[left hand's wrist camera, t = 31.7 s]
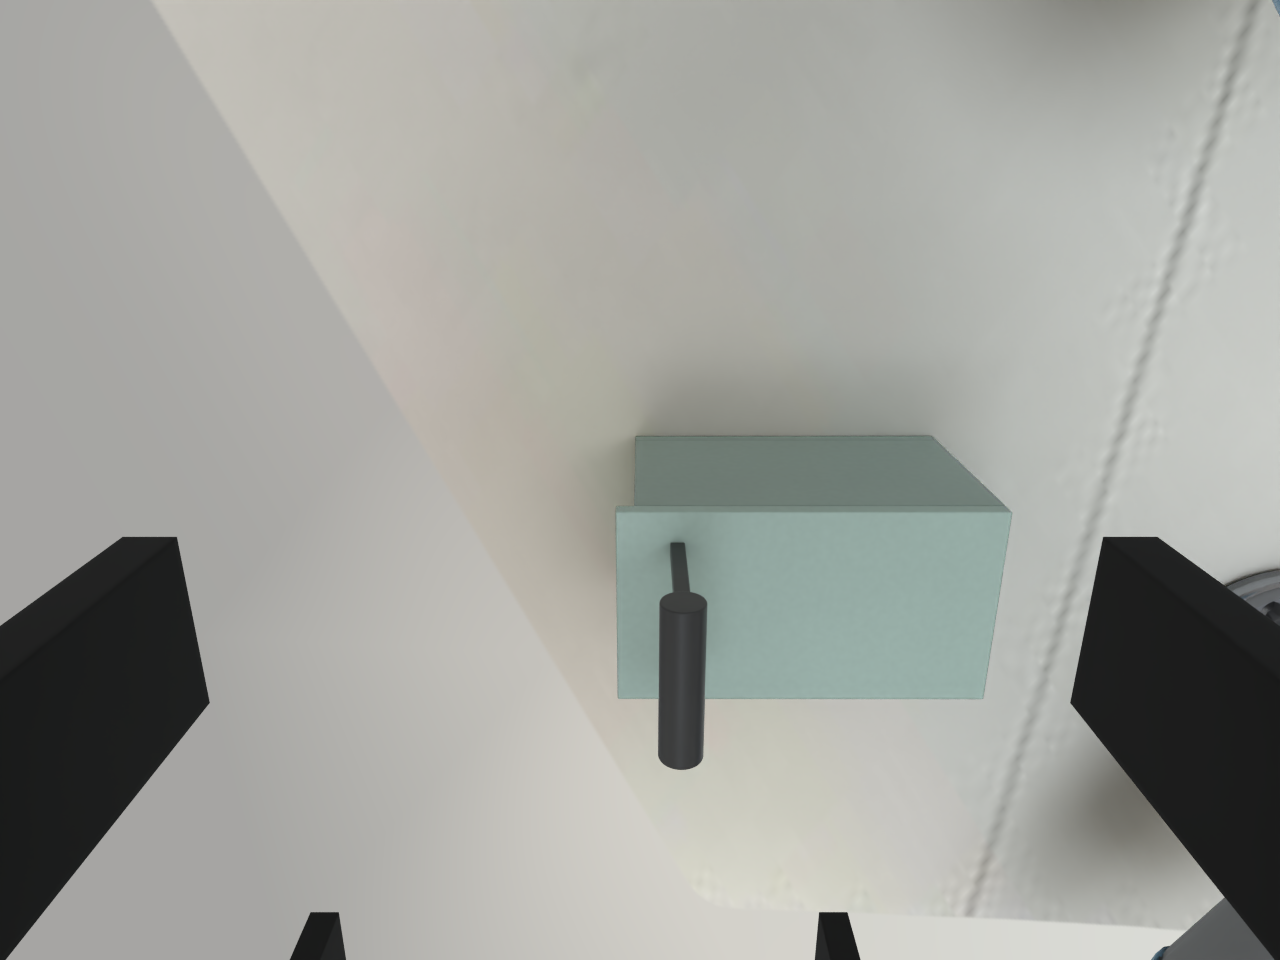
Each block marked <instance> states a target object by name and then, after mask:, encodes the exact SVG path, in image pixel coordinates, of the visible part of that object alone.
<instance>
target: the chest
mask: <svg viewBox="0 0 1280 960" xmlns="http://www.w3.org/2000/svg"><path fill="white" fill-rule="evenodd" d="M634 506H1005V505H1004V504H1003V503H1002V502H1001V501H1000V500H999V499H998V498H997V497H996V496H995V495H994V494H992V493H991V492H990V491H989V490H988V489H987V488H986V487H985V486H984V485H983V484H982V483H981V482H980V481H979V480H978V479H977V478H976V477H974V476H973V475H972V474H971V473H970V472H969V471H968V470H967V469H966V468H965V467H964V466H963V465H962V464H961V463H960V462H959V461H958V460H957V459H955V458H954V457H953V456H952V455H951V454H950V453H949V452H948V451H947V450H946V449H945V448H944V447H943V446H942V445H941V444H940V443H939V442H937V441H936V439H934V438H933V437H932V436H636V444H635V495H634Z"/></svg>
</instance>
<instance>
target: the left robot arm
mask: <svg viewBox="0 0 1280 960" xmlns="http://www.w3.org/2000/svg"><path fill="white" fill-rule="evenodd" d="M1272 1H1273V3H1274V5H1275V7H1276V9H1277V12H1278V14H1279V16H1280V0H1272ZM209 703H210V702H209V697H208V692H207V687H206V682H205V677H204V672H203V667H202V662H201V657H200V652H199V647H198V642H197V637H196V632H195V627H194V622H193V616H192V611H191V606H190V601H189V596H188V591H187V586H186V581H185V576H184V571H183V566H182V561H181V556H180V551H179V546H178V541H177V537H122V538H121V539H119V540H118V541H116V542H115V543H114V544H112V545H111V546H110V547H108V548H107V549H106V550H104V551H103V552H101V553H100V554H99V555H97V556H96V557H95V558H93V559H92V560H90V561H89V562H88V563H86V564H85V565H84V566H82V567H81V568H79V569H78V570H77V571H75V572H74V573H72V574H71V575H70V576H68V577H67V578H66V579H64V580H63V581H62V582H60V583H59V584H57V585H56V586H55V587H53V588H52V589H50V590H49V591H48V592H46V593H45V594H44V595H42V596H41V597H40V598H38V599H37V600H35V601H34V602H33V603H31V604H30V605H28V606H27V607H26V608H24V609H23V610H22V611H20V612H19V613H17V614H16V615H15V616H13V617H12V618H11V619H9V620H8V621H6V622H5V623H4V624H2V625H1V626H0V960H6V959H7V957H8V956H9V955H10V953H11V952H12V951H13V950H14V948H15V947H16V946H17V945H18V943H19V942H20V941H21V940H22V938H23V937H24V936H25V935H26V933H27V932H28V931H29V929H30V928H31V927H32V926H33V925H34V923H35V922H36V921H37V919H38V918H39V917H40V916H41V914H42V913H43V912H44V911H45V909H46V908H47V907H48V906H49V904H50V903H51V902H52V901H53V899H54V898H55V897H56V896H57V894H58V893H59V892H60V891H61V889H62V888H63V887H64V885H65V884H66V883H67V882H68V880H69V879H70V878H71V877H72V875H73V874H74V873H75V872H76V870H77V869H78V868H79V867H80V865H81V864H82V863H83V862H84V860H85V859H86V858H87V856H88V855H89V854H90V853H91V852H92V850H93V849H94V848H95V846H96V845H97V844H98V843H99V841H100V840H101V839H102V838H103V836H104V835H105V834H106V833H107V831H108V830H109V829H110V828H111V826H112V825H113V824H114V823H115V821H116V820H117V819H118V818H119V816H120V815H121V814H122V812H123V811H124V810H125V809H126V807H127V806H128V805H129V804H130V802H131V801H132V800H133V799H134V797H135V796H136V795H137V794H138V792H139V791H140V790H141V789H142V787H143V786H144V785H145V784H146V782H147V781H148V780H149V778H150V777H151V776H152V775H153V773H154V772H155V771H156V770H157V768H158V767H159V766H160V765H161V763H162V762H163V761H164V760H165V758H166V757H167V756H168V755H169V753H170V752H171V751H172V750H173V748H174V747H175V746H176V744H177V743H178V742H179V741H180V739H181V738H182V737H183V736H184V734H185V733H186V732H187V731H188V729H189V728H190V727H191V726H192V724H193V723H194V722H195V720H196V719H197V718H198V717H199V715H200V714H201V713H202V712H203V710H204V709H205V708H206V707H207V705H208V704H209ZM1070 703H1071V704H1072V705H1073V707H1074V708H1075V709H1076V711H1077V712H1078V713H1079V714H1080V716H1081V717H1082V718H1083V719H1084V721H1085V722H1086V723H1087V724H1088V726H1089V727H1090V728H1091V729H1092V731H1093V732H1094V733H1095V734H1096V736H1097V737H1098V738H1099V739H1100V741H1101V742H1102V743H1103V745H1104V746H1105V747H1106V748H1107V750H1108V751H1109V752H1110V753H1111V755H1112V756H1113V757H1114V758H1115V760H1116V761H1117V762H1118V763H1119V765H1120V766H1121V767H1122V768H1123V770H1124V771H1125V772H1126V773H1127V775H1128V776H1129V777H1130V778H1131V780H1132V781H1133V782H1134V784H1135V785H1136V786H1137V787H1138V789H1139V790H1140V791H1141V792H1142V794H1143V795H1144V796H1145V797H1146V799H1147V800H1148V801H1149V802H1150V804H1151V805H1152V806H1153V807H1154V809H1155V810H1156V811H1157V812H1158V814H1159V815H1160V816H1161V818H1162V819H1163V820H1164V821H1165V823H1166V824H1167V825H1168V826H1169V828H1170V829H1171V830H1172V831H1173V833H1174V834H1175V835H1176V836H1177V838H1178V839H1179V840H1180V841H1181V843H1182V844H1183V845H1184V846H1185V848H1186V849H1187V850H1188V852H1189V853H1190V854H1191V855H1192V857H1193V858H1194V859H1195V860H1196V862H1197V863H1198V864H1199V865H1200V867H1201V868H1202V869H1203V870H1204V872H1205V873H1206V874H1207V875H1208V877H1209V878H1210V879H1211V880H1212V882H1213V883H1214V884H1215V885H1216V887H1217V888H1218V889H1219V891H1220V892H1221V893H1222V894H1223V896H1224V897H1225V898H1226V899H1227V901H1228V902H1229V903H1230V904H1231V906H1232V907H1233V908H1234V909H1235V911H1236V912H1237V913H1238V914H1239V916H1240V917H1241V918H1242V919H1243V921H1244V922H1245V923H1246V925H1247V926H1248V927H1249V928H1250V930H1251V931H1252V932H1253V933H1254V935H1255V936H1256V937H1257V938H1258V940H1259V941H1260V942H1261V943H1262V945H1263V946H1264V947H1265V948H1266V950H1267V951H1268V952H1269V953H1270V955H1271V956H1272V957H1273V959H1274V960H1280V626H1279V625H1278V624H1276V623H1275V622H1274V621H1272V620H1271V619H1269V618H1268V617H1267V616H1265V615H1264V614H1263V613H1261V612H1260V611H1258V610H1257V609H1256V608H1254V607H1253V606H1252V605H1250V604H1249V603H1247V602H1246V601H1245V600H1243V599H1242V598H1241V597H1239V596H1238V595H1236V594H1235V593H1234V592H1232V591H1231V590H1230V589H1228V588H1227V587H1225V586H1224V585H1223V584H1221V583H1220V582H1219V581H1217V580H1216V579H1214V578H1213V577H1212V576H1210V575H1209V574H1208V573H1206V572H1205V571H1203V570H1202V569H1201V568H1199V567H1198V566H1197V565H1195V564H1194V563H1192V562H1191V561H1190V560H1188V559H1187V558H1186V557H1184V556H1183V555H1181V554H1180V553H1179V552H1177V551H1176V550H1175V549H1173V548H1172V547H1170V546H1169V545H1168V544H1166V543H1165V542H1164V541H1162V540H1161V539H1159V538H1158V537H1103V541H1102V546H1101V551H1100V556H1099V561H1098V566H1097V571H1096V576H1095V581H1094V586H1093V591H1092V596H1091V601H1090V606H1089V611H1088V616H1087V621H1086V626H1085V632H1084V637H1083V642H1082V647H1081V652H1080V657H1079V662H1078V667H1077V672H1076V677H1075V682H1074V687H1073V692H1072V697H1071V702H1070Z"/></svg>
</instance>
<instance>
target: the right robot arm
mask: <svg viewBox="0 0 1280 960" xmlns="http://www.w3.org/2000/svg"><path fill="white" fill-rule="evenodd" d="M1227 588H1228V589H1230V590H1231V591H1232V592H1234V593H1235V594H1236V595H1238V596H1239V597H1241V598H1242V599H1243V600H1245V601H1246V602H1247V603H1249V604H1250V605H1252V606H1253V607H1254V608H1256V609H1257V610H1258V611H1260V612H1261V613H1263V614H1264V615H1265V616H1267V617H1268V618H1269V619H1271V620H1272V621H1274V622H1275V623H1276V624H1278V625H1279V626H1280V570H1276V571H1271V572H1266V573H1262V574H1258V575H1254V576H1251V577H1248V578H1246V579H1243V580H1240V581H1238V582H1236V583H1233V584H1231V585H1229V586H1227ZM290 960H346V957H345V950H344V944H343V937H342V931H341V924H340V918H339V913H338V912H311V913H310V915H309V917H308V920H307V922H306V924H305V926H304V929H303V931H302V933H301V936H300V938H299V940H298V942H297V945H296V947H295V949H294V952H293V954H292V956H291V959H290ZM815 960H860V957H859V953H858V950H857V946H856V942H855V938H854V935H853V931H852V928H851V924H850V920H849V917H848V913H847V912H819V921H818V932H817V943H816V954H815ZM1151 960H1274V959H1273V957H1272V956H1271V955H1270V953H1269V952H1268V951H1267V950H1266V948H1265V947H1264V946H1263V945H1262V943H1261V942H1260V941H1259V940H1258V938H1257V937H1256V936H1255V935H1254V933H1253V932H1252V931H1251V930H1250V928H1249V927H1248V926H1247V925H1246V923H1245V922H1244V921H1243V919H1242V918H1241V917H1240V916H1239V914H1238V913H1237V912H1236V911H1235V909H1234V908H1233V907H1232V906H1231V904H1230V903H1229V902H1228V901H1227V899H1226V898H1224V899H1223V900H1221V901H1220V902H1219V903H1218V904H1217V905H1216V906H1215V907H1214V908H1212V909H1211V910H1210V911H1209V912H1208V913H1207V914H1206V915H1204V916H1203V917H1202V918H1201V919H1200V920H1199V921H1198V922H1197V923H1195V924H1194V925H1193V926H1192V927H1191V928H1190V929H1189V930H1188V931H1186V932H1185V933H1184V934H1183V935H1182V936H1181V937H1180V938H1179V939H1177V940H1176V941H1175V942H1174V943H1173V944H1172V945H1171V946H1167V947H1163V948H1162V949H1161V950H1160V951H1158V952H1157V953H1156V954H1155V955H1154V957H1153V958H1152V959H1151Z"/></svg>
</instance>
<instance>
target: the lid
mask: <svg viewBox="0 0 1280 960" xmlns="http://www.w3.org/2000/svg"><path fill="white" fill-rule="evenodd" d="M1011 517H1012V512H1011V511H1010V510H1009V509H1008V508H1007V507H1006V506H617V507H616V584H617V672H618V698H619V699H659V719H658V756H659V759H660V761H661V762H662V763H663V764H664V765H666V766H667V767H670V768H672V769H678V770H686V769H691V768H693V767H695V766H697V765H698V764H699V763H700V762H701V761H702V759H703V744H704V709H705V699H983V696H984V690H985V683H986V677H987V670H988V664H989V658H990V651H991V645H992V639H993V632H994V626H995V619H996V613H997V607H998V600H999V594H1000V587H1001V581H1002V575H1003V568H1004V562H1005V555H1006V549H1007V543H1008V536H1009V530H1010V524H1011Z"/></svg>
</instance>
